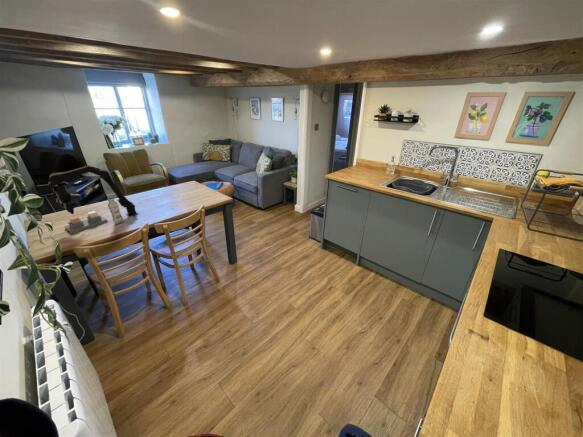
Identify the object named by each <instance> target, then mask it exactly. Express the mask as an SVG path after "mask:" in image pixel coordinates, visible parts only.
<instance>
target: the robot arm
mask: <svg viewBox="0 0 583 437" xmlns="http://www.w3.org/2000/svg"><path fill="white" fill-rule="evenodd" d="M86 173H91V174H93V175H97V176H99V177H100V178H101V179H102V180H103V181H104V182H106V184H107V185H108V186H109V187H110V189H111V190H112V191H113V192H114V194H115V195H116V197H117V199H116V200H117V203H118V204H119V205H120V206H121V207H123V208H125V210H126V212H127V213H126V216H128V217H133V216H136V215H138V214H139V213H138V212H137V211H136V205H135V204H134V203H133V202H131V201H130V200H129V199H128V198H127V197H126V196H125V195H124V194H122V192H121V190H120V189H119V188H118V186H117V185H116V183H115V182H114V180H113V179H112V177H111V175H110V173H109V171H108V170H106V168H105V169H104V168H98V167H94V166H92V165H89V164H88V165H85V166H81V167H78V168H74V169H72V170H68V171H62V172H60V171H59V172H53V173H50V175H49V180H48V183H47V184H38V185H36V189H37V190H38V194H39V195H40V197H43V196H49V195H53V194H54V193H55V195H56V198H55V201H56V203H58V204H59V205H60V206H61V207H62V208H63V209H64V210H66V212H68V213H70V214H71V215H74V214H75V211H74V207H77V206H78V205H79V204H78V203H77V202H76V201H74V200H79V201H80V200H82V195H81V194H79V193H77V192H75V191H71V193H70V192H69V191H68V188H67V187H66V186H69V182H66V181H67V180H69V179H71V178H73V177H78V176H81V175H84V174H86Z"/></svg>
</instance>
